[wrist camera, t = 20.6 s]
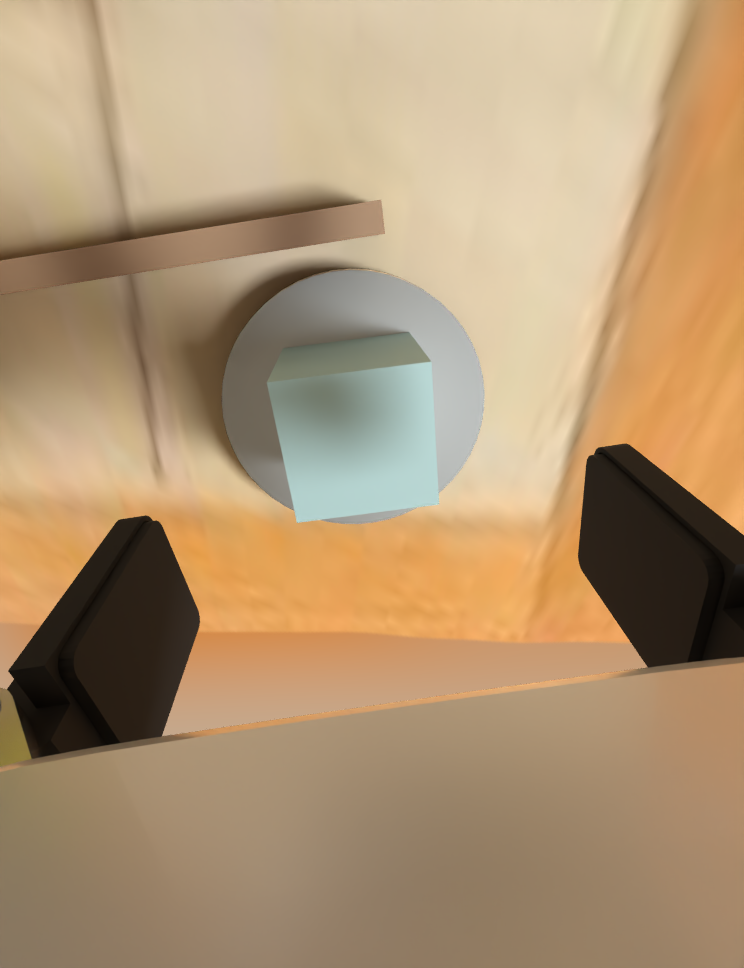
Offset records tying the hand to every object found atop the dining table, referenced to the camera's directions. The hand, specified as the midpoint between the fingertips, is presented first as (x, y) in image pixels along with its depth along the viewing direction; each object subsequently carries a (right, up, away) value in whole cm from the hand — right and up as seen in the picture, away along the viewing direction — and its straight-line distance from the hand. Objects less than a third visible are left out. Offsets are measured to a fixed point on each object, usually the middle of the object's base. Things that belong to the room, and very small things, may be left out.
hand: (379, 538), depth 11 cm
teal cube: (-1, +5, +9) cm, 11 cm away
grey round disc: (-1, +5, +11) cm, 12 cm away
